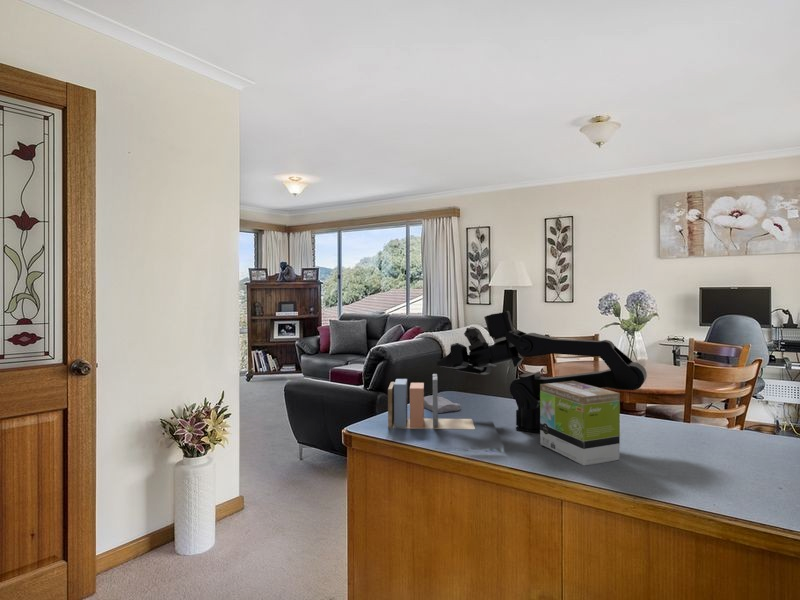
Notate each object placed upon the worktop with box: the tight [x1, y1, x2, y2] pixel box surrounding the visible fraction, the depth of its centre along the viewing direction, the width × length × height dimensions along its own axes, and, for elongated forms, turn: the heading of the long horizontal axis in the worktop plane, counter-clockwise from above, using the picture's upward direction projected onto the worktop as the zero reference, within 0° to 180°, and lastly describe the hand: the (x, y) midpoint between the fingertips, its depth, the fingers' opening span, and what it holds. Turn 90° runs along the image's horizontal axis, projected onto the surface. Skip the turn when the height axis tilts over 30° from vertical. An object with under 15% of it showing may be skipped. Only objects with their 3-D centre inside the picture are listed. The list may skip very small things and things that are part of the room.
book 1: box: [394, 378, 408, 427], centre depth 133 cm, size 3×8×11 cm, turn 176°
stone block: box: [424, 395, 461, 414], centre depth 151 cm, size 12×5×10 cm
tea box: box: [539, 381, 621, 467], centre depth 112 cm, size 15×10×15 cm, turn 21°
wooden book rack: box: [387, 381, 476, 430], centre depth 132 cm, size 22×10×11 cm, turn 86°
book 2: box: [409, 382, 425, 427], centre depth 132 cm, size 4×8×10 cm, turn 176°
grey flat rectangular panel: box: [432, 373, 439, 427], centre depth 132 cm, size 1×9×12 cm, turn 176°
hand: (445, 366), depth 143 cm, fingers open, 9 cm apart
